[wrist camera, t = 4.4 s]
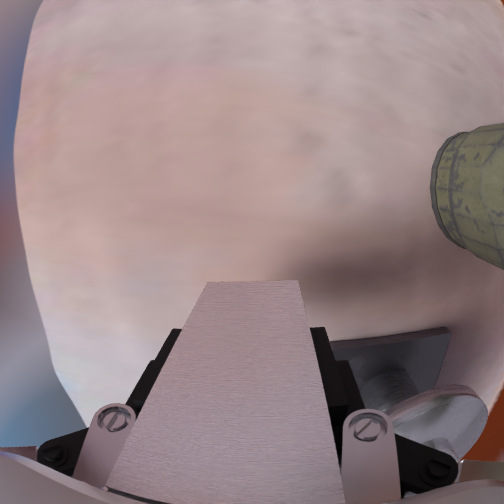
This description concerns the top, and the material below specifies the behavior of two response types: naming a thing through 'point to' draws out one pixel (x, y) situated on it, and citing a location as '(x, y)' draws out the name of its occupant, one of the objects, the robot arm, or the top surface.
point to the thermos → (472, 191)
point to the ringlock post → (415, 389)
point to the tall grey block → (235, 408)
